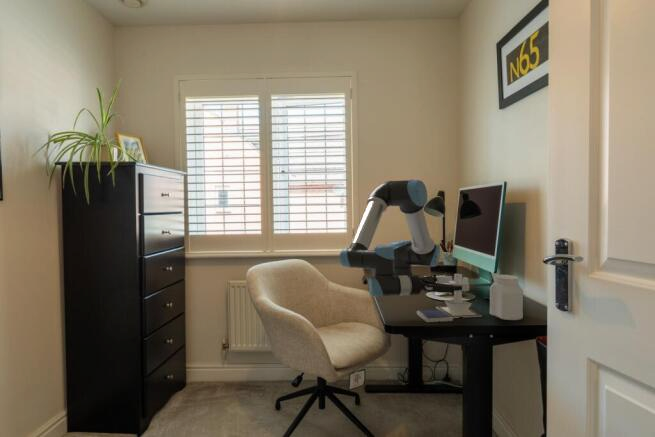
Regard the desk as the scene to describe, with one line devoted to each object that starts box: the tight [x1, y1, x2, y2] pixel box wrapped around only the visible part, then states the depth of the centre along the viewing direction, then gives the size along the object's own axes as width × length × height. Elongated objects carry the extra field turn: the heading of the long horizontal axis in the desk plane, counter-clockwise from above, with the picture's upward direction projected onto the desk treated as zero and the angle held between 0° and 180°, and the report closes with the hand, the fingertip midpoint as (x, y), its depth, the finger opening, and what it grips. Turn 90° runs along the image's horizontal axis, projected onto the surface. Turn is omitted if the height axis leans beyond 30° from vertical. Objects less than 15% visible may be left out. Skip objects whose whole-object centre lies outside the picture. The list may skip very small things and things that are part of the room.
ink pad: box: [416, 309, 454, 323], centre depth 136 cm, size 10×10×2 cm
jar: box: [489, 274, 524, 321], centre depth 137 cm, size 12×10×15 cm
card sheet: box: [435, 305, 483, 319], centre depth 143 cm, size 14×12×1 cm
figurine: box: [444, 273, 473, 313], centre depth 142 cm, size 7×9×15 cm
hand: (460, 283), depth 142 cm, fingers open, 13 cm apart
